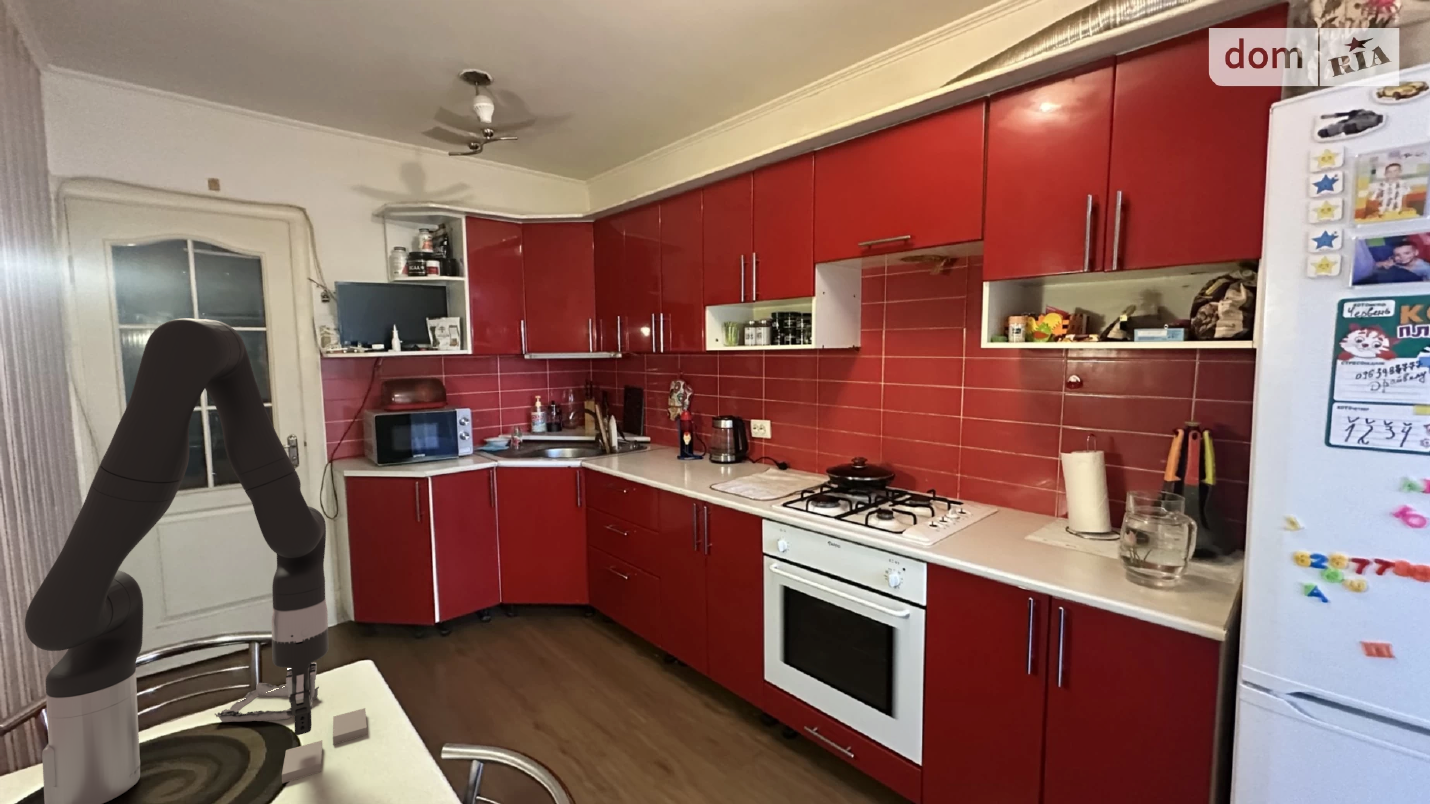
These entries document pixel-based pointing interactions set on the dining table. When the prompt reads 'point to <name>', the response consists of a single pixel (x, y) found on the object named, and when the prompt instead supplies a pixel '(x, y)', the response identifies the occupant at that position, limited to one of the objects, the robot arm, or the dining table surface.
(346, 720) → the beige rectangular block
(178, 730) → the dining table surface
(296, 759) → the beige flat slab
